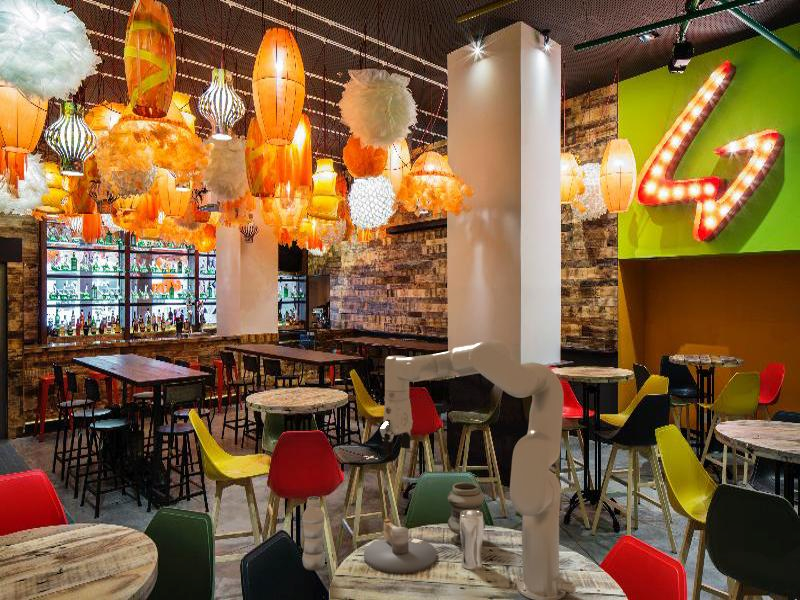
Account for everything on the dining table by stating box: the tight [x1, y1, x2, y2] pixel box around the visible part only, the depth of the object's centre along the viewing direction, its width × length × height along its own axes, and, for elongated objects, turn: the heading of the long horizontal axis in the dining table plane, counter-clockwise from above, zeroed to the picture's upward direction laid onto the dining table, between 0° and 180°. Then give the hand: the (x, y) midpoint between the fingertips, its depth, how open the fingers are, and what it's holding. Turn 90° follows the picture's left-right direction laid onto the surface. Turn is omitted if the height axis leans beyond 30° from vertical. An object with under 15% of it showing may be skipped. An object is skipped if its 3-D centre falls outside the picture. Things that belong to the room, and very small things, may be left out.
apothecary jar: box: [447, 481, 486, 548], centre depth 182 cm, size 12×12×18 cm
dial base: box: [363, 537, 438, 574], centre depth 170 cm, size 22×22×2 cm
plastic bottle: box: [301, 496, 326, 571], centre depth 163 cm, size 6×7×20 cm
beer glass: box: [460, 510, 485, 571], centre depth 164 cm, size 7×7×15 cm
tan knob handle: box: [383, 518, 409, 554], centre depth 174 cm, size 12×5×6 cm, turn 27°
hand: (397, 451), depth 174 cm, fingers open, 9 cm apart
